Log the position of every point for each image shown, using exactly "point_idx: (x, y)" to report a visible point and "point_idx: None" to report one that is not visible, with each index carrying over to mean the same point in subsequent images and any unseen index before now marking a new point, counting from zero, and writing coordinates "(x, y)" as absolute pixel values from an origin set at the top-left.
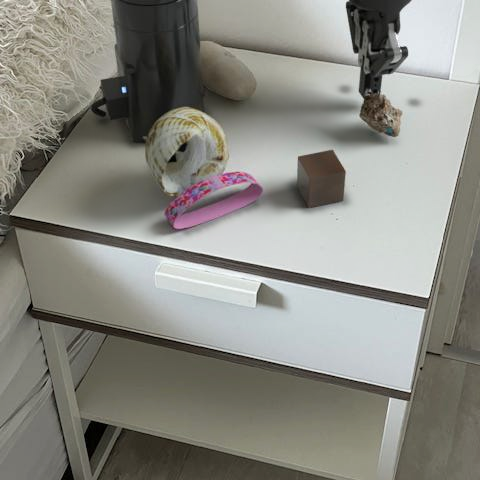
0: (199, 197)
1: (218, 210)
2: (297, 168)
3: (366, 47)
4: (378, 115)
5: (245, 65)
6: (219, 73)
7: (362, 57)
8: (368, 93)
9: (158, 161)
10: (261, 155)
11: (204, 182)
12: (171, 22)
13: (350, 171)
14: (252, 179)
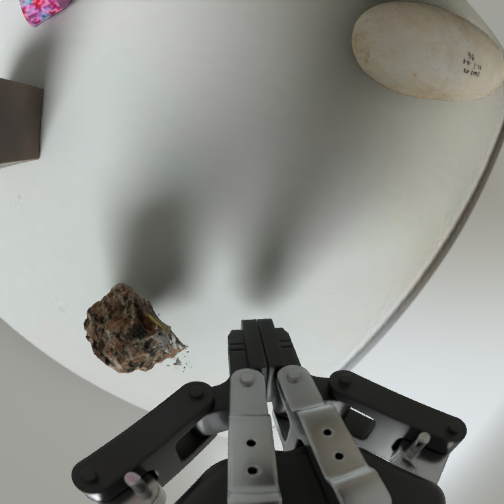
0: None
1: None
2: (17, 82)
3: (230, 452)
4: (89, 324)
5: (442, 83)
6: (414, 3)
7: (284, 393)
8: (231, 338)
9: None
10: (156, 31)
11: None
12: None
13: (49, 204)
14: (33, 2)
